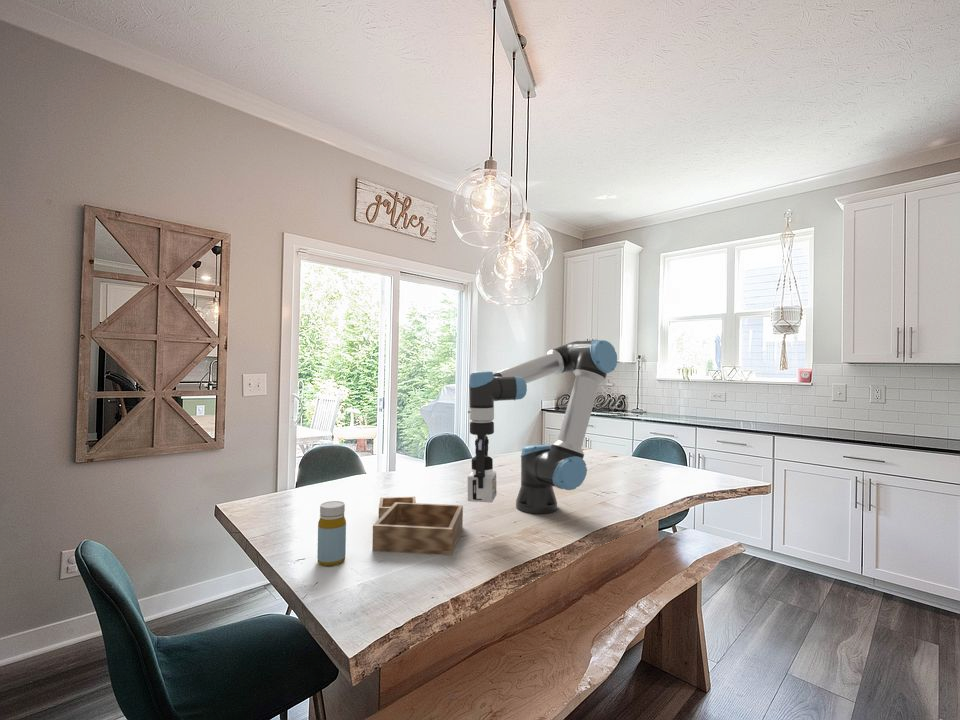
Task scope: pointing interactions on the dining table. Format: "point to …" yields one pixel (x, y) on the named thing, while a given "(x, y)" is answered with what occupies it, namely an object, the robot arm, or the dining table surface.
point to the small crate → (389, 501)
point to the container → (490, 481)
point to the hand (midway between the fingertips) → (482, 494)
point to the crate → (419, 528)
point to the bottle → (331, 534)
